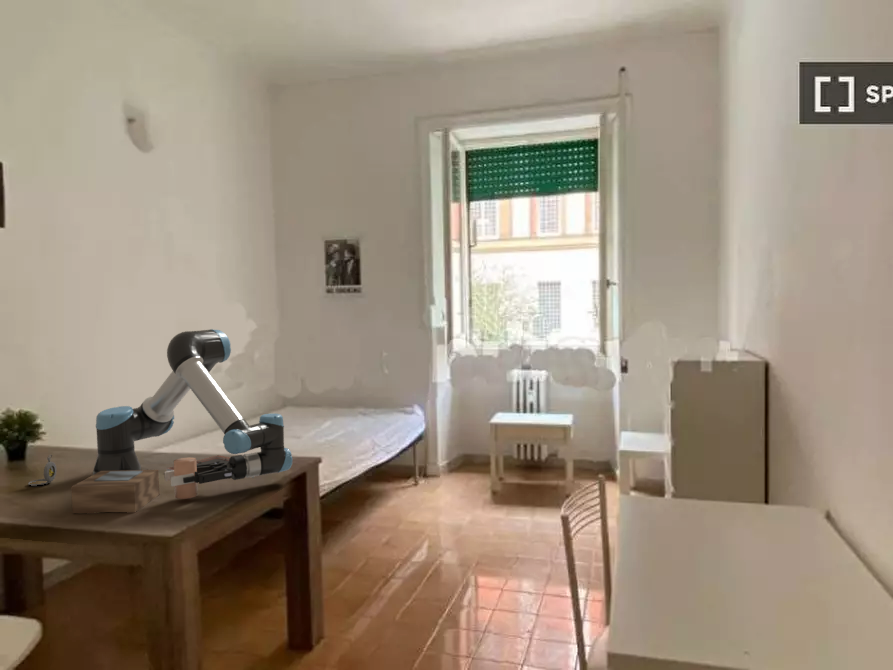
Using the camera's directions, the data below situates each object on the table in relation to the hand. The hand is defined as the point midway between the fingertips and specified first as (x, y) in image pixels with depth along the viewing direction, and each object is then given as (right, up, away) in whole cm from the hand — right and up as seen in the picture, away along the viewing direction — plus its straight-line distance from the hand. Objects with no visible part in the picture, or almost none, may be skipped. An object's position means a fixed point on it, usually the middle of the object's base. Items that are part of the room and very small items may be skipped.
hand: (168, 479), depth 196 cm
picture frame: (-3, -6, +40) cm, 41 cm away
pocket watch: (-52, -7, +24) cm, 58 cm away
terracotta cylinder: (+4, -6, +3) cm, 8 cm away
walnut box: (-16, -8, +1) cm, 18 cm away
